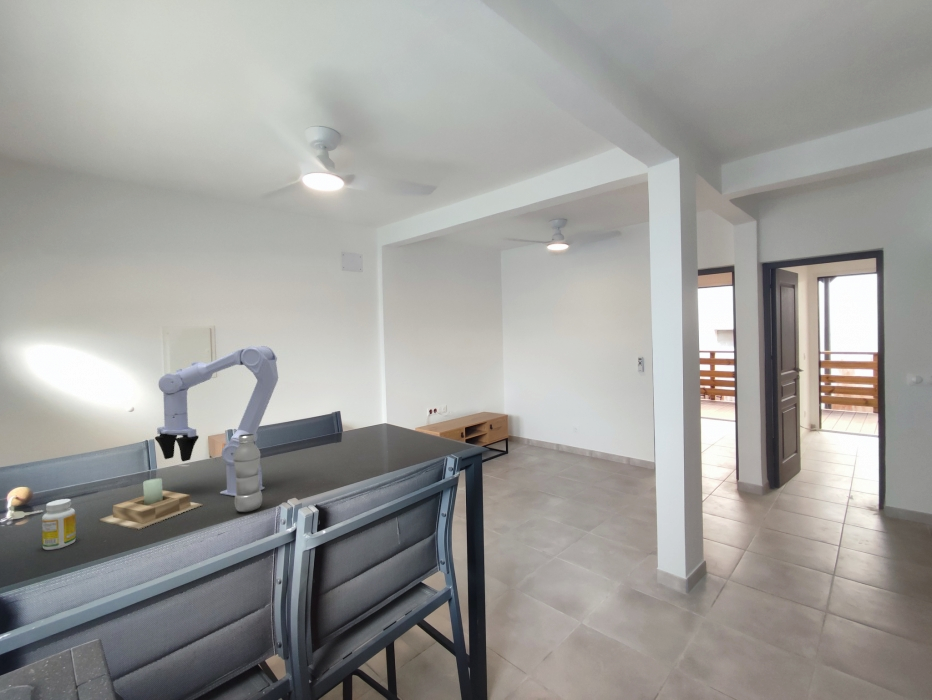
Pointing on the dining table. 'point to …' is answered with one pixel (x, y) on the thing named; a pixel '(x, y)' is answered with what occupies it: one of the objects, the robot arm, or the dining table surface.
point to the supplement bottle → (58, 525)
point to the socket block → (149, 510)
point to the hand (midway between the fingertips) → (177, 459)
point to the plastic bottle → (247, 474)
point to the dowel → (152, 491)
